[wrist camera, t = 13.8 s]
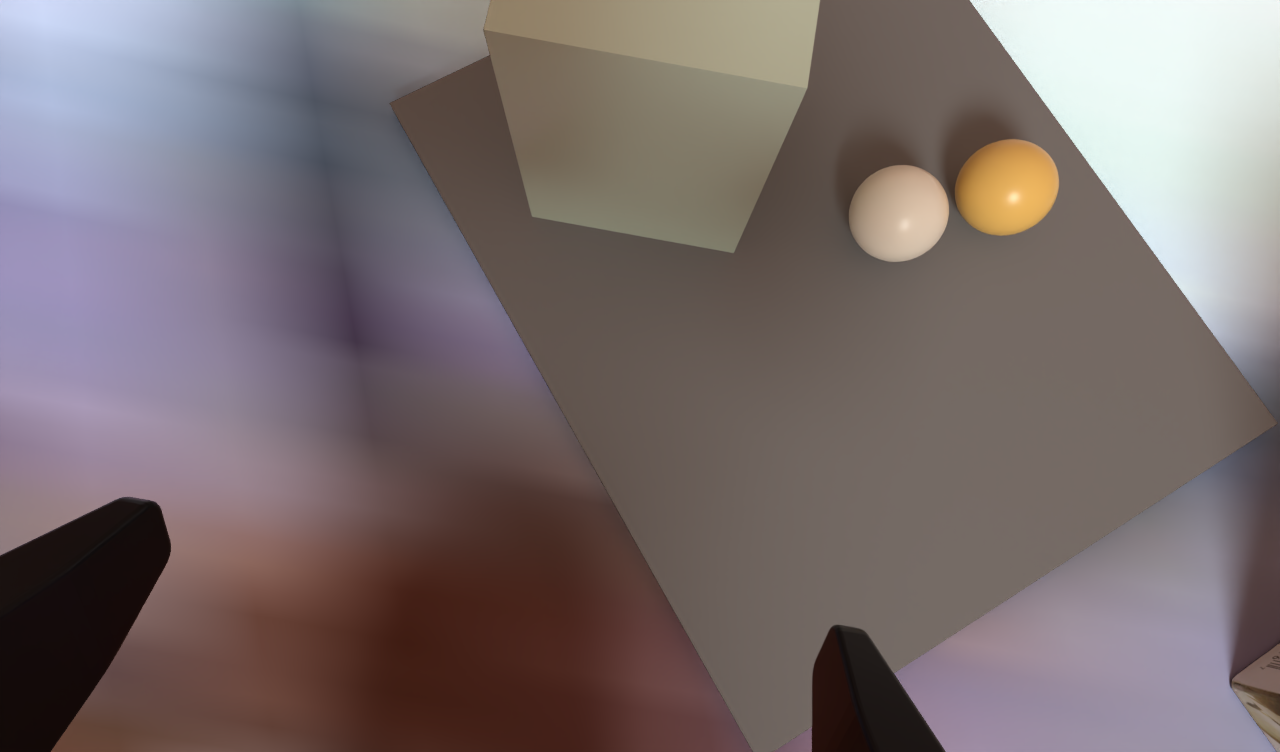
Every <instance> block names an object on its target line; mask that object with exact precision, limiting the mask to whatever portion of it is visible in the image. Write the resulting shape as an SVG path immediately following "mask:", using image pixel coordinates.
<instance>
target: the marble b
mask: <svg viewBox="0 0 1280 752" xmlns="http://www.w3.org/2000/svg"><path fill="white" fill-rule="evenodd" d="M1058 189H1059V176H1058V171H1057V168H1056V165H1055V163H1054V161H1053V160H1052V158H1051V157H1050V156H1049V154H1048V153H1047V152H1046V151H1045V150H1043V149H1042V148H1041V147H1039V146H1037V145H1036V144H1033V143H1031V142H1028V141H1024V140H1019V139H1007V140H1000V141H997V142H993V143H990V144H988V145H986V146H984V147H983V148H981V149H979V150H978V151H977V152H975V153H974V154H973V155H972V156H971V157H970V158H969V159H968V160H967V161H966V162H965V164H964V165H963V167H962V168H961V170H960V172H959V175H958V177H957V180H956V184H955V201H956V205H957V208H958V210H959V212H960V214H961V216H962V217H963V218H964V219H965V221H966V222H967V223H968V224H969V225H971V226H972V227H973V228H975V229H977V230H979V231H981V232H983V233H986V234H990V235H997V236H1005V235H1013V234H1017V233H1020V232H1023V231H1025V230H1027V229H1029V228H1031V227H1033V226H1034V225H1036V224H1037V223H1038V222H1039V221H1041V220H1042V219H1043V218H1044V217H1045V216H1046V215H1047V213H1048V212H1049V211H1050V209H1051V208H1052V206H1053V204H1054V202H1055V200H1056V197H1057V194H1058Z"/></svg>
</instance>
